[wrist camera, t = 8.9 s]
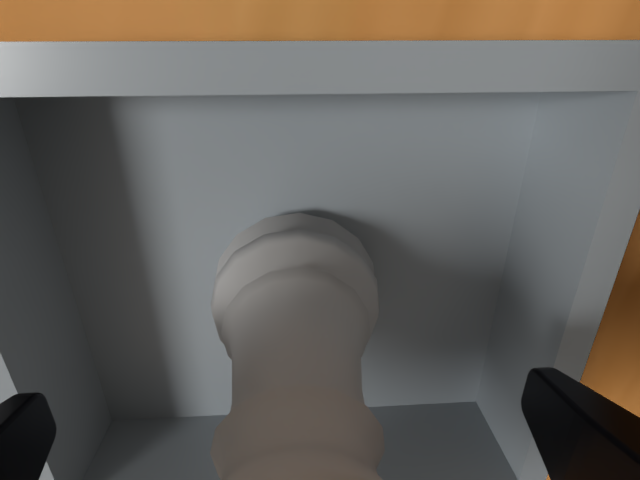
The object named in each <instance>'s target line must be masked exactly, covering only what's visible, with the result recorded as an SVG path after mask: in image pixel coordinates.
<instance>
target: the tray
mask: <svg viewBox="0 0 640 480" xmlns="http://www.w3.org/2000/svg"><path fill="white" fill-rule="evenodd" d="M639 210H640V40H486V41H119V42H0V403H2V402H3V401H5V400H7V399H8V398H10V397H11V396H13V395H15V394H19V393H32V392H39V393H42V394H43V395H45V397H46V399H47V401H48V404H49V406H50V409H51V412H52V414H53V417H54V419H55V422H56V427H57V431H56V437H55V440H54V443H53V445H52V448H51V450H50V453H49V455H48V458H47V460H46V463H45V466H44V468H43V471H42V473H41V476H40V478H39V480H221V479H220V477H219V476H218V473H217V471H216V468H215V465H214V463H213V460H212V457H211V455H210V451H211V446H212V442H213V437H214V432H215V428H216V427H217V426H218V425H219V424H220V423H221V422H222V421H223V419H224V418H225V417H226V416H227V415H228V414H229V413H230V411H231V405H232V360H231V359H230V358H229V356H228V355H227V351H226V348H225V345H224V344H223V343H222V342H221V341H220V339H219V335H218V332H217V329H216V325H215V322H214V319H213V315H212V310H211V300H212V294H213V289H214V283H215V278H216V273H217V267H218V262H219V258H220V257H221V256H222V254H223V253H224V251H225V250H226V249H227V247H228V246H229V245H230V243H231V242H232V240H233V239H234V238H235V236H236V235H237V234H238V233H240V232H242V231H244V230H245V229H247V228H249V227H251V226H252V225H254V224H256V223H257V222H259V221H261V220H263V219H264V218H268V217H274V216H281V215H288V214H294V213H303V214H307V215H312V216H316V217H321V218H325V219H330V220H333V221H334V222H336V223H337V224H339V225H340V226H342V227H343V228H345V229H346V230H347V231H349V232H350V233H352V234H353V235H355V236H356V237H357V238H359V240H360V242H361V243H362V245H363V247H364V248H365V250H366V252H367V253H368V255H369V257H370V258H371V260H372V262H373V265H374V276H375V277H376V279H377V285H378V297H379V315H378V319H377V321H376V324H375V326H374V329H373V332H372V334H371V337H370V339H369V342H368V343H367V345H366V348H365V350H364V353H363V356H362V357H361V368H362V393H363V398H364V403H365V405H366V406H367V407H368V408H369V409H370V411H371V412H372V413H373V415H374V416H375V417H376V419H377V420H378V422H379V423H380V424H381V426H382V427H383V435H384V446H385V452H384V454H383V456H382V458H381V460H380V462H379V465H378V467H377V469H376V471H377V474H378V476H380V477H381V478H382V479H383V480H546V477H547V475H548V472H547V470H546V467H545V465H544V462H543V460H542V458H541V455H540V453H539V451H538V448H537V446H536V443H535V441H534V439H533V436H532V434H531V431H530V429H529V427H528V424H527V422H526V420H525V417H524V415H523V412H522V408H521V397H522V393H523V390H524V386H525V382H526V379H527V375H528V372H529V371H530V370H531V369H532V368H539V367H553V368H556V369H558V370H559V371H561V372H563V373H564V374H566V375H568V376H570V377H571V378H573V379H575V380H576V381H578V382H580V380H581V377H582V374H583V371H584V368H585V365H586V362H587V359H588V357H589V354H590V351H591V348H592V345H593V342H594V339H595V336H596V334H597V331H598V328H599V325H600V322H601V319H602V316H603V313H604V310H605V308H606V305H607V302H608V299H609V296H610V293H611V290H612V287H613V285H614V282H615V279H616V276H617V273H618V270H619V267H620V264H621V262H622V259H623V256H624V253H625V250H626V247H627V244H628V241H629V238H630V236H631V233H632V230H633V227H634V224H635V221H636V218H637V215H638V213H639Z"/></svg>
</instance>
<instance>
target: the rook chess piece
mask: <svg viewBox="0 0 640 480" xmlns="http://www.w3.org/2000/svg"><path fill="white" fill-rule="evenodd" d="M211 310H212V315H213V319H214V322H215V325H216V329H217V332H218V335H219V339H220V341H221V342H222V343H223V344H224V345H225V348H226V351H227V355H228V356H229V358H230V359H231V360H232V405H231V411H230V413H229V414H228V415H227V416H226V417H225V418H224V419H223V421H222V422H221V423H220V424H219V425H218V426H217V427H216V428H215V432H214V437H213V442H212V446H211V451H210V455H211V457H212V460H213V463H214V465H215V468H216V471H217V473H218V476H219V477H220V479H221V480H383V479H382V478H381V477H380V476H378V474H377V471H376V469H377V467H378V465H379V462H380V460H381V458H382V456H383V454H384V452H385V446H384V435H383V427H382V426H381V424H380V423H379V422H378V420H377V419H376V417H375V416H374V415H373V413H372V412H371V411H370V409H369V408H368V407H367V406H366V405H365V403H364V398H363V393H362V368H361V357H362V356H363V353H364V350H365V348H366V345H367V343H368V342H369V339H370V337H371V334H372V332H373V329H374V326H375V324H376V321H377V319H378V315H379V297H378V285H377V279H376V277H375V276H374V265H373V262H372V260H371V258H370V257H369V255H368V253H367V252H366V250H365V248H364V247H363V245H362V243H361V242H360V240H359V238H357V237H356V236H355V235H353V234H352V233H350V232H349V231H347V230H346V229H345V228H343V227H342V226H340V225H339V224H337V223H336V222H334V221H333V220H330V219H325V218H321V217H316V216H312V215H307V214H303V213H294V214H288V215H281V216H274V217H268V218H264V219H263V220H261V221H259V222H257V223H256V224H254V225H252V226H251V227H249V228H247V229H245V230H244V231H242V232H240V233H238V234H237V235H236V236H235V238H234V239H233V240H232V242H231V243H230V245H229V246H228V247H227V249H226V250H225V251H224V253H223V254H222V256H221V257H220V258H219V262H218V267H217V273H216V278H215V283H214V289H213V294H212V300H211Z"/></svg>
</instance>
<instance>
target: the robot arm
mask: <svg viewBox="0 0 640 480" xmlns="http://www.w3.org/2000/svg"><path fill="white" fill-rule="evenodd" d="M521 408H522V412H523V415H524V417H525V420H526V422H527V424H528V427H529V429H530V431H531V434H532V436H533V439H534V441H535V443H536V446H537V448H538V451H539V453H540V455H541V458H542V460H543V462H544V465H545V467H546V470H547V472H548V474H549V477H550V479H551V480H640V418H639V417H638V416H636V415H634V414H633V413H631V412H629V411H627V410H626V409H624V408H622V407H621V406H619V405H617V404H615V403H614V402H612V401H610V400H609V399H607V398H605V397H604V396H602V395H600V394H598V393H597V392H595V391H593V390H592V389H590V388H588V387H587V386H585V385H583V384H581V383H580V382H578V381H576V380H575V379H573V378H571V377H570V376H568V375H566V374H564V373H563V372H561V371H559V370H558V369H556V368H553V367H539V368H532V369H531V370H530V371H529V372H528V375H527V379H526V382H525V386H524V390H523V393H522V397H521ZM56 431H57V427H56V422H55V419H54V417H53V414H52V412H51V409H50V406H49V404H48V401H47V399H46V397H45V395H43V394H42V393H39V392H32V393H19V394H15V395H13V396H11V397H10V398H8V399H7V400H5V401H3V402H2V403H0V480H39V478H40V476H41V473H42V471H43V468H44V466H45V463H46V460H47V458H48V455H49V453H50V450H51V448H52V445H53V443H54V440H55V437H56Z"/></svg>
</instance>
